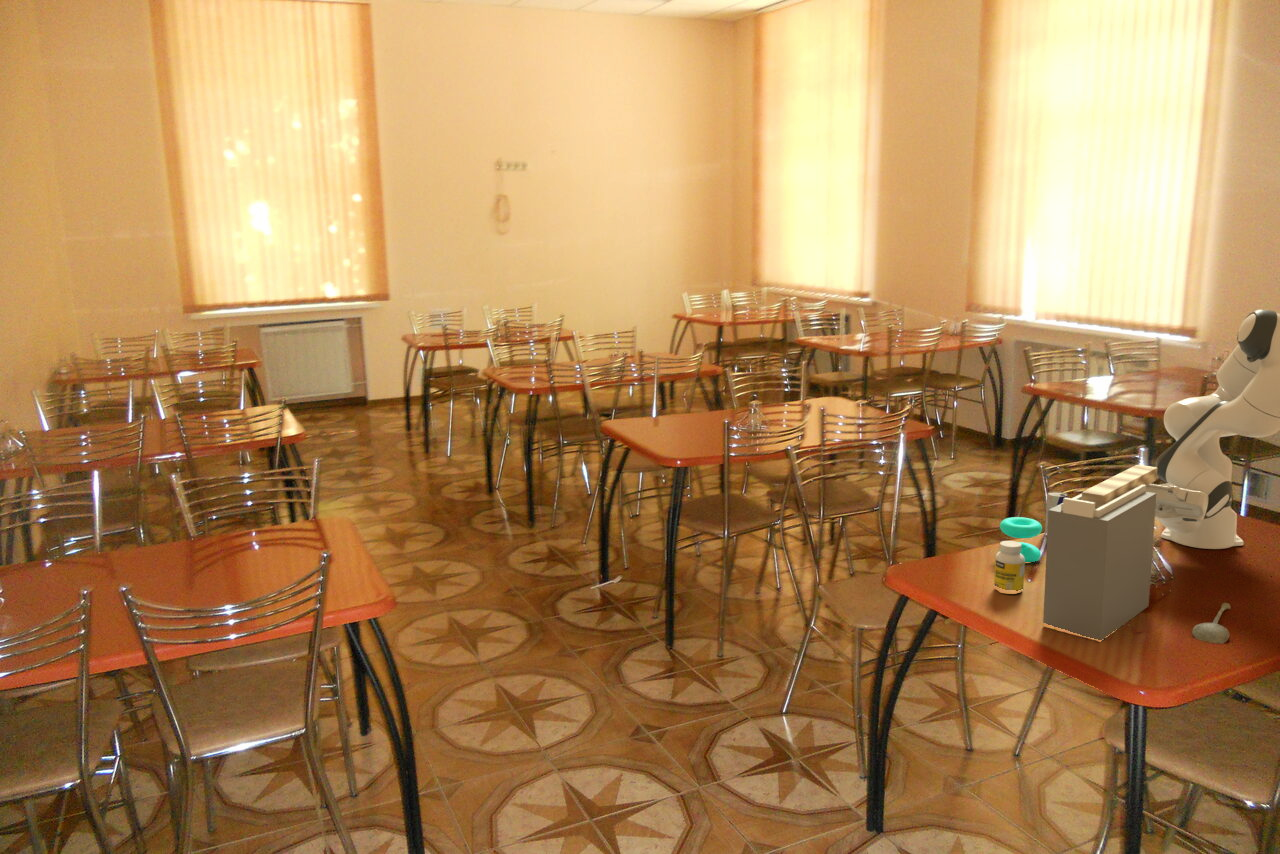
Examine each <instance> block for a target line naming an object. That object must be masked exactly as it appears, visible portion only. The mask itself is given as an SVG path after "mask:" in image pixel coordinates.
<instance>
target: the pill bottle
mask: <svg viewBox="0 0 1280 854" xmlns="http://www.w3.org/2000/svg"><path fill="white" fill-rule="evenodd" d="M1019 542H1020V541H1016V540H1002V541H1000V542H999V550H1000V549H1001V551H1000V552H999V551H998V552H997V553H996V555H995V557H994V578H993V579H994V582H993V586H994V585H995V586H997V587H999V588H1002V589H1005V590H1016V591H1018V590H1021V589H1023V590H1024V582H1025V579H1024V578H1025V566H1026V564H1025V558H1024V556H1023V555H1022V554H1021V553H1020V551H1021V543H1019Z"/></svg>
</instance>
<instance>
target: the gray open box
mask: <svg viewBox="0 0 1280 854" xmlns="http://www.w3.org/2000/svg"><path fill="white" fill-rule="evenodd" d="M1155 506H1156V493H1151V492H1146V485H1143V484H1142V485H1140V486H1138V487H1136V488H1135V489H1133V490H1131V491H1129V492H1127V493H1125V494H1123V495H1122V496H1120V497H1118V498H1116V499H1114V500H1112V501H1110V502H1109V503H1107V504H1105V505H1103V506H1101V507H1099V508H1095V502H1089V501H1083V500H1082V492H1081V493H1080V494H1078V495H1076V496H1074V497H1072V498H1070V497H1068V498H1064V499H1063V503H1061V504H1059V505H1057V506H1055V507H1053V508H1051V509H1049V510H1048V530H1047V536H1046V553H1045V573H1044V574H1045V575H1044V576H1045V577H1044V578H1045V579H1044V597H1043V598H1044V601H1043V620H1042V621H1043V623H1046V624H1048V625H1052V626H1054V627H1058V628H1061V629H1065V630H1068V631H1070V632H1073V633H1077V634H1080V635H1082V636H1086V637H1090V638H1094V639H1098V640H1102V639H1104V638H1105V637H1106V636H1108V635H1109V634H1111V633H1112V632H1113V631H1115V630H1116V629H1118V628H1119V627H1121V626H1122V625H1123V626H1125V625H1126V624H1127V623H1128V622H1130V621H1131V620H1132V619H1134V618H1135V617H1136V616H1137V615H1139V614H1140V613H1141V612H1143V611H1144V610H1145V609H1147V608H1148V607H1150V606H1149V605H1150V604H1149V603H1150V591H1151V589H1150V588H1151V578H1152V577H1151V575H1152V561H1153V547H1154V533H1155V532H1154V531H1155V519H1156V518H1155ZM1129 620H1130V621H1129ZM1126 622H1127V623H1126ZM1125 623H1126V624H1125ZM1123 626H1122V627H1123ZM1122 627H1121V628H1122ZM1119 629H1120V628H1119ZM1119 629H1118V630H1119ZM1115 632H1116V631H1115ZM1111 635H1112V634H1111Z"/></svg>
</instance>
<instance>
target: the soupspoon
mask: <svg viewBox="0 0 1280 854" xmlns="http://www.w3.org/2000/svg"><path fill="white" fill-rule="evenodd" d="M1226 610H1231V605H1230V603H1227V602H1223V603H1222V604H1221V607H1220V609H1219V610H1218V611H1217V614H1216V615H1215V617H1214V619H1213V621H1212V622H1202V623H1198V624H1196V625H1194V627H1193V628H1192V633H1191V634H1192V636H1193V637H1194V638H1195V639H1196V640H1198V641H1201V642H1205V643H1211V644H1218V645H1219V644H1220V645H1223V644H1225V643H1227V641H1228V640H1229V638H1230V632H1229V630H1228V628H1226V627H1225V626H1223V625H1222V624H1219V622H1220V618H1221V617H1222V614H1223V612H1224V611H1226Z"/></svg>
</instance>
